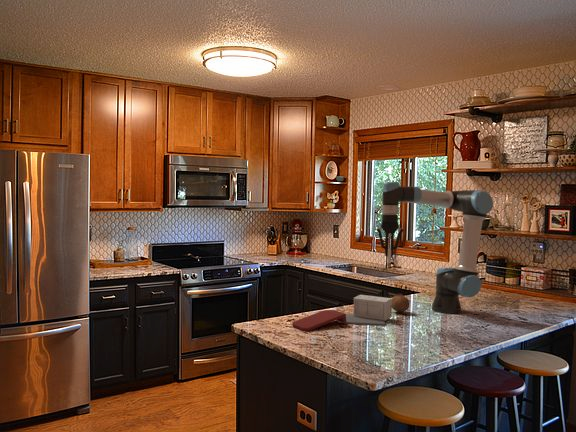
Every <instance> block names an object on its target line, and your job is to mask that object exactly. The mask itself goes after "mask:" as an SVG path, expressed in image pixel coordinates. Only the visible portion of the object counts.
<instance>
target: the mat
mask: <svg viewBox="0 0 576 432" xmlns="http://www.w3.org/2000/svg"><path fill="white" fill-rule="evenodd" d="M345 314H346V321H347V322H344V323H343V325H344V324H345V325H365V326H366V325H367V326H386V321H384V320H378V319H371V318H364V317H357V316H353V314H347V313H345Z"/></svg>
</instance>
